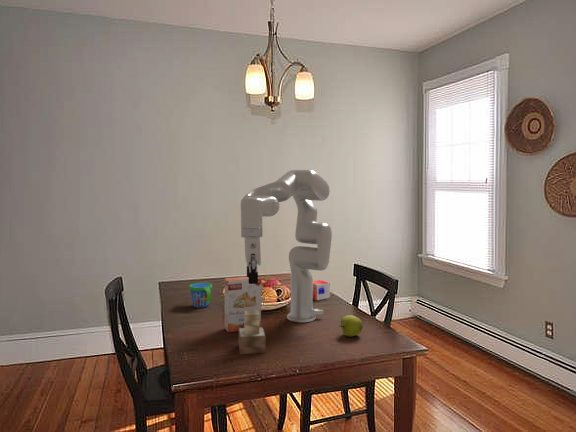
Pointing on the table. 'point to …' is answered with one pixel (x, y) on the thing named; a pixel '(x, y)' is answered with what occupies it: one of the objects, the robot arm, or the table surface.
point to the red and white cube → (321, 290)
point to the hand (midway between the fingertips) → (252, 280)
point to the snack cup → (201, 294)
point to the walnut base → (252, 342)
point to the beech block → (251, 322)
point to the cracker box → (240, 301)
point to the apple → (351, 325)
